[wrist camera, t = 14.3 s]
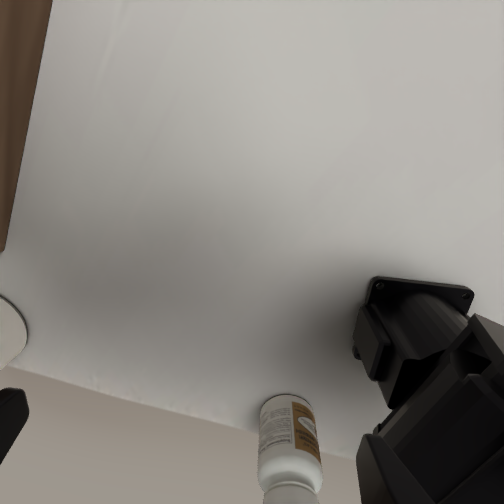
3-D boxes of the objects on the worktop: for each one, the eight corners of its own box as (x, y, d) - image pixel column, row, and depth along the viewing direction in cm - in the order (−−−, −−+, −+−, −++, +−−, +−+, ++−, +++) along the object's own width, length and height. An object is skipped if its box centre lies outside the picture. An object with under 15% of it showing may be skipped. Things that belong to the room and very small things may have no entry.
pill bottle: (322, 423, 25) (341, 539, 18) (274, 437, 26) (274, 552, 19) (301, 386, 24) (312, 494, 17) (251, 401, 25) (242, 510, 18)
